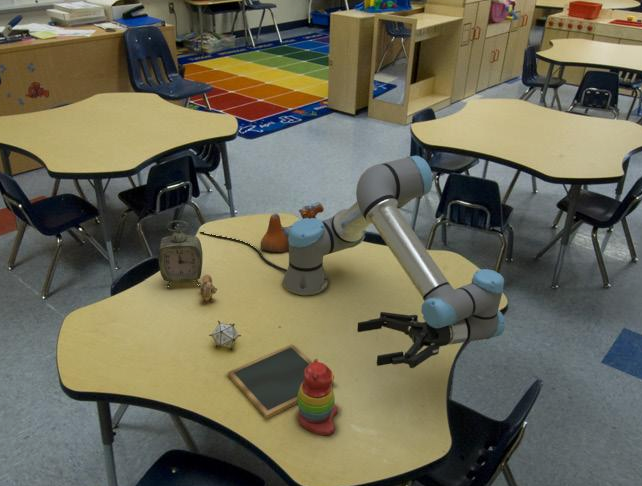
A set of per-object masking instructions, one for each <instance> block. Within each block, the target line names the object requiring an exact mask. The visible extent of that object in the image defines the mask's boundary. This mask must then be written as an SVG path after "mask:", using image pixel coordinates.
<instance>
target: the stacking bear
mask: <svg viewBox="0 0 642 486" xmlns="http://www.w3.org/2000/svg"><path fill="white" fill-rule="evenodd" d="M334 380H335V375H334V373H333V371H332V370H331V368H330V367H329V366H328V365H327V364H325V363H323V362H320V361H319V359H318V358H315V359H314V360H313V362H312V363H311V364H310V365H308V366H307V367H306V368H305V370H304V381H303V383H302V384H301V386H300V389H299V392H298V397H297V403H298V404H297V407H298V410H299V411H298V414H297V420H298V423H299V424H300V425H301V426H302V427H303V428H304V429H306V430H307V431H309V432H312V433H314V434H317V435H321V436H331V435H332V434H334V433H335V430H336V426H335V424H334V422H333V419H334V417H335V416H336V415H337V414H338V412H339V408H338V407H339V406H337V404H335V393H334V389H333V386H332V385H331V383H332V382H334Z"/></svg>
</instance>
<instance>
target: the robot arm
mask: <svg viewBox="0 0 642 486" xmlns="http://www.w3.org/2000/svg"><path fill="white" fill-rule="evenodd" d="M432 187H433V172H432V170H431V166H430V165H429V163H428V162H427V160H426V159H424V158H423V157H422V156H419V155H412V156H410V155H409V156H406V157H403V158H399V159H395V160H390V161H387V162H383V163H377V164H374V165H371V166H370V167H367V169H366V170H365V171H363V173H362V174H361V175H360V177H359V180H358V181H357V184H356V192H355V195H356V202H354V203H353V204H352V205H351V206H350V207H349V208H344V209H341V210H339V211H337V212H336V213H335V214H334V215H333V216H332V217H329V218H327V219H324V220H323V219H322V220H321V219H318V218H317V217H316V218H317V219H316V218H311V219H309V218H305V219H303V218H301V219H299V220H296V221H295V222H293V223H292V224H291V225H290V226H291V227H290V230H289V237H288V241H289V252H288V266H287V269H286V268H284V267H281V266H278V265H276V264H274V263H272V262H271V261H270V260H268V259H267V258H265V256H264V255H263V254H262V251H261V250H259V249H258V248H257V247H256V246H254V245H253V246H254V247H256V248H257V249H258V250H259V251H258V250H257V249H256V248H254V247H253V246H251V245H252V244H251V243H249V242H247V243H245V242H246V241H245V242H243V241H244V240H242V241H240V240H241V239H238V240H236V239H237V238H234V239H232V238H233V237H230V238H227V237H228V236H225V237H222V236H223V235H219V236H216V235H217V234H215V235H212V234H213V233H211V235H209V236H210V237H214V238H217V239H218V238H220V239H225V240H230V241H233V242H238V243H241V244H244V245H247V246H249V247H251V248H252V249H254V251H256V252H257V254H259V256H260V258H261V259H262V261H264V262H265V263H266V264H268V265H270V266H271V267H273V268H275V269H277V270H280V271H282V272H284V273H285V274H284V277H283V287H284V288H285V290H287V291H288V292H289V293H291V294H294V295H298V296H303V297H306V296H307V297H308V296H314V295H319V294H320V293H323V292H324V291H325V290H326V288H327V287H328V276H327V273H326V270H325V268H324V256H327V255H330V254H333V253H337V252H341V251H344V250H348V249H352V248H355V247H357V246H359V245H360V244H362V243H363V241H364V239H365V238H366V233H367V231H366V230H367V229H368V228H369V227H370V226H371V225H373V226H374V228H375V229H376V232H378V234H379V235H380V236H381V239H382V240H383V241H384V243H385V244H386V245H387V247H388V249H389V250H390V252H391V253H392V254H393V256H394V258H395V259H396V261H397V263H398V264H399V265H400V267H401V268H402V270H403V271H404V273H405V274H406V276H407V277H408V279H409V280H410V282H411V283H412V285H413V286H414V288H415V289H416V291H417V292H418V294H419V295H420V297H421V298H422V300H423V303H422V304H421V306H420V307H421V308H420V309H421V314H422V315H423V316H422V318H423V320H424V322H423V321H422V322H421V321H419V316H418V315H417V314H402V313H394V312H387V311H386V312H385V311H381V312H380V313H379V317H378V318H372V319H368V320H365V321H358V322H357V330H356V331H357V333H363V332H370V331H375V330H381V329H382V328H387V329H389V330H390V329H391V330H394V331H397V332H399V333H400V332H401V333H404V334H405V335H406V336H408V338H410V340H411V341H412V343H413V344H411V346H410V347H409V348H408V350H407V351H402V350H401V351H397V352H391V353H385V354H379V355H378V354H377V357H376V365H377V367H380V366H386V365H394V366H395V365H401V364H405V365H407V366H408V367H409V369H415V368H416V367H418V366H419V365H421V364H422V363H424V362H425V361H426V360H429V358H431V357H433V356H436V355H439V353H440V347H446V346H448V345H449V346H451V345H457V344H462V343H469V342H475V341H482V340H483V341H484V340H490V339H492V338H497V337H500V336H501V335H503V334H504V331H505V329H506V324H505V322H506V320H505V317H504V315H503V313H502V312H501V311H500V309H499V308H500V304H501V300H502V296H503V293H504V285H505V279H504V276H503V275H502V274H501V273H499V272H497V271H496V270H492V269H489V268H488V269H487V268H484V269H483V268H482V269H478V270H476V271H475V272H474V273H473V276H472V278H471V282H470V283H468V284H465V285H462V286H460V287H457V288H455V289H454V288H453V286H452V285H451V284H450V282H449V281H448V279H447V277H446V276H445V275H444V273H443V272H442V270H441V269H440V268H439V266H438V265H437V263H436V262H435V260H434V259H433V258H432V256H431V254H430V253H429V252H428V250H427V249H426V246H425V245H424V244H423V243H422V241H421V240H420V238H419V237H418V235H417V234H416V233H415V231H414V230H413V228H412V227H411V225H410V224H409V222H408V221H407V220H406V218H405V216H404V215H403V214H402V213H401V211H400V210H399V209H402V208H403V207H404V206H405V205H407V204H408V203H409V202H411V201H412V200H414V199H417V198H422V197H424V196H426V195H428V194H429V193H430V192H431V190H432ZM204 232H205V231H203V232H201V233H200V234H202V233H203V234H202V235H205V234H204ZM248 243H249V244H248ZM250 244H251V245H250ZM259 252H260V253H259ZM261 255H262V256H261ZM424 347H425V348H424ZM422 348H423V349H422Z"/></svg>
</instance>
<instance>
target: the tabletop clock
mask: <svg viewBox="0 0 642 486" xmlns="http://www.w3.org/2000/svg"><path fill="white" fill-rule="evenodd" d="M176 223H181V224H184V225H185V226H186V227H185V228H182V229H180V228H179V227H176V229H172V228H169V226H170V225H171V224H176ZM166 228H167V230H168V231H170V232H171V233H172V232H173V233H172V234H171V235H170V236H168V235H167V236H165V237H163V238H161V241H160V245H159V250H158V255H157V256H158V257H157V258H158V259H157V260H158V267H159V268H158V269H159V273H160V275H161V277H162V279H163V281H165V282H168V283H166V284H165V288H166V289H170V288H171V283H187V282H194V281H195V283H196V284H198V285H199V284H201V285H199V286H198V285H196V284H195V285H196V287H197V288H201V286H202V283H201V282H200V281H198V280H199V279H201V277H202V272H203V271H202V270H203V261H204V260H203V257H204V256H203V255H204V253H203V247H202V243H201V240H200V238H199V237H198V236H195V235H191V234H186V233H184V232H185V231H187V230H188V228H189V225H188V223H187V222H186V221H184V220H172V221H169V222H168V223H167V225H166ZM166 286H167V287H166ZM168 286H169V287H168Z"/></svg>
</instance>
